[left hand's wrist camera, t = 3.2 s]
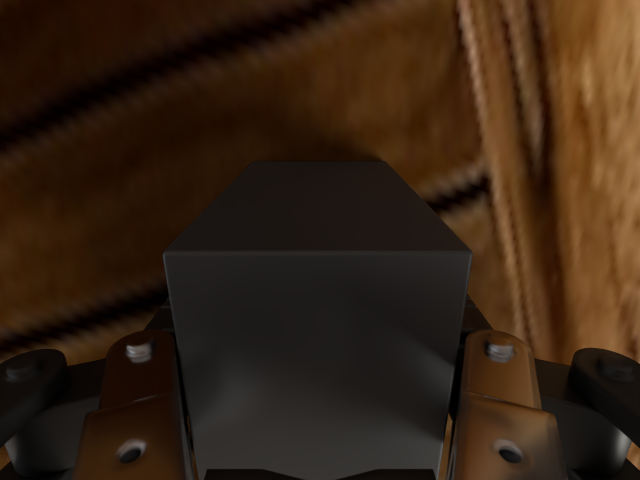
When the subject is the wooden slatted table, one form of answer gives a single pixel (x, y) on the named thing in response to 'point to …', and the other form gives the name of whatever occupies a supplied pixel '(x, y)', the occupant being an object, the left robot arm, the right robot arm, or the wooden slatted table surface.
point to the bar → (318, 321)
